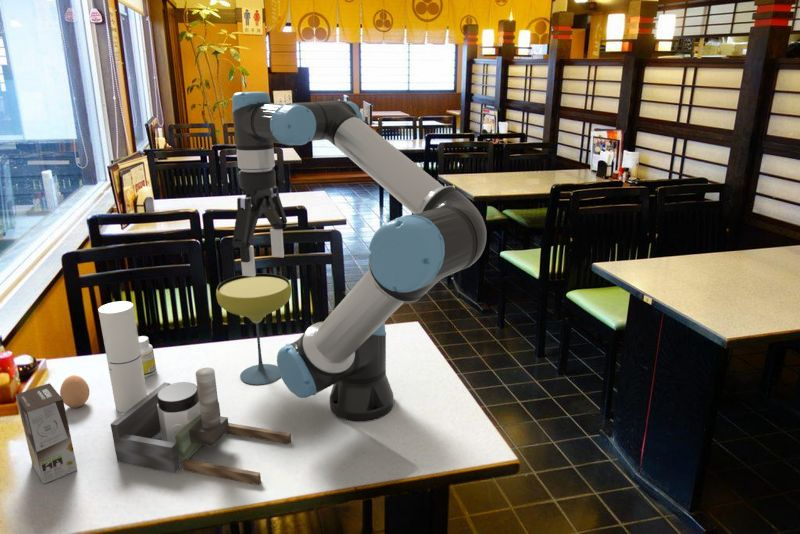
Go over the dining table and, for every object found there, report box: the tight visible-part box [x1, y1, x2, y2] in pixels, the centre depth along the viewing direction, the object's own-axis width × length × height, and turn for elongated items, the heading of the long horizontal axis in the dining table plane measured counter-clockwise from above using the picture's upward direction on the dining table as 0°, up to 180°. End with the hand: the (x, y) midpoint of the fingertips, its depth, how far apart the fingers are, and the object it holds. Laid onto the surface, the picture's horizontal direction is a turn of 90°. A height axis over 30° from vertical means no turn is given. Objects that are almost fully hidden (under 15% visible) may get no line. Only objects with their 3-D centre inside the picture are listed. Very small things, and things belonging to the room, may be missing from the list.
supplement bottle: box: [138, 335, 157, 378], centre depth 154 cm, size 5×5×10 cm
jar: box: [157, 381, 201, 443], centre depth 125 cm, size 9×8×12 cm
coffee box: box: [15, 382, 78, 484], centre depth 116 cm, size 9×6×16 cm
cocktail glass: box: [215, 273, 292, 386], centre depth 150 cm, size 18×18×25 cm
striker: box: [175, 367, 229, 463], centre depth 121 cm, size 7×11×18 cm, turn 165°
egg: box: [59, 374, 90, 409], centre depth 139 cm, size 6×6×8 cm
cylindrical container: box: [97, 300, 148, 413], centre depth 137 cm, size 7×7×25 cm
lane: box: [110, 382, 292, 485], centre depth 122 cm, size 31×17×9 cm, turn 75°
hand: (264, 265), depth 130 cm, fingers open, 13 cm apart
